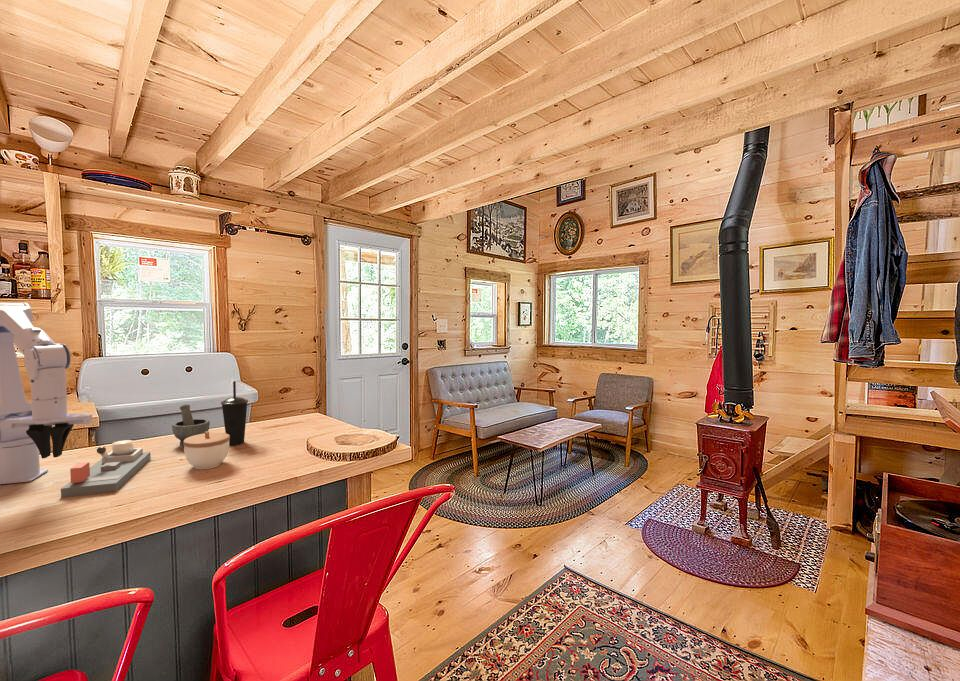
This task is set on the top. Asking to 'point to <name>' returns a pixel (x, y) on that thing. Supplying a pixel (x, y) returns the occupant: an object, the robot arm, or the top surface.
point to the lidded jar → (206, 449)
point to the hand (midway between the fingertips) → (51, 456)
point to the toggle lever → (103, 453)
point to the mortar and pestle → (189, 425)
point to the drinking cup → (235, 417)
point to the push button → (122, 447)
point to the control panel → (108, 474)
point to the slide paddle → (80, 472)
